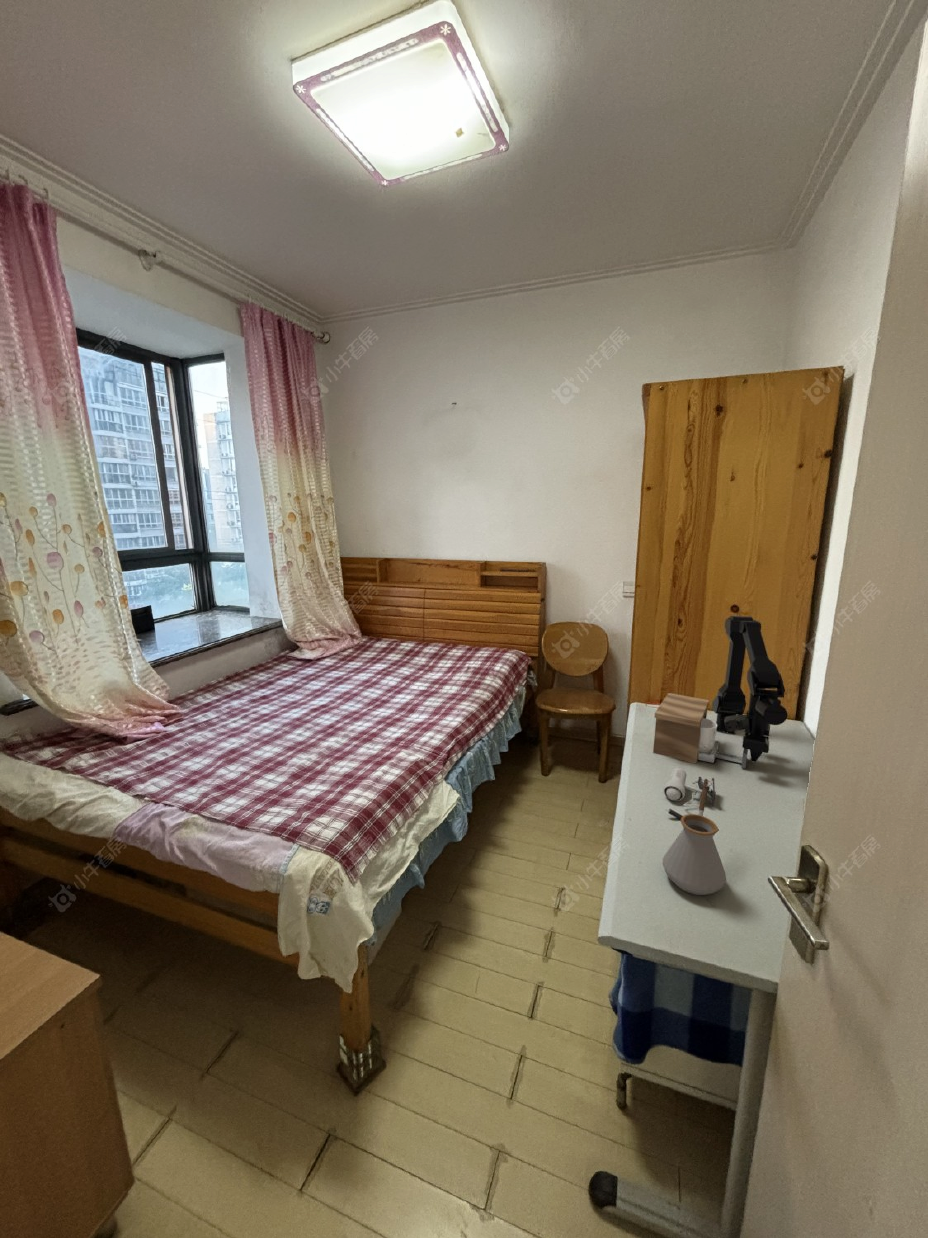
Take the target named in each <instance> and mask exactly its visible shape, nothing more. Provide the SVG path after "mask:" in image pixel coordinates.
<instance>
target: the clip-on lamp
mask: <svg viewBox="0 0 928 1238" xmlns="http://www.w3.org/2000/svg"><path fill="white" fill-rule="evenodd" d="M686 780H687V773H686V770H684V769H683V768H681V767H676V768H674V769H673V770H672V772H671V775H670V778H669V780H668V781H666V782H665V784H664V785H663V794H664V796H665V797H666V798H667V799H668V800H671V801H675V802H679V801H681V800H683V799H684V797H685V796H686V790H690V791H693V792H692V797H691V799H690V801H687V802H685V803H684V804H683V805H682V806H684V807H698V808H699V804H695V803H691V802H693V801H694V799H695V797H694V796H696V795H697V793H699V794H701V792H702V790H703V789H702V786H703V784H701V783H703V782H704V781H701V780H704V778H702V776H699V777H698V780H695V781H692V785H695V786H692V785H689V784H686ZM700 781H701V782H700ZM710 782H711V783H712V785H711V783H710ZM710 782H708V785H711V786H707V787H708V790H707V796H709V797H710V805H711V806H710V807H714V804H715V800H716V795H717V793H716V792H717V791H716V790H715V788H716V787H715V777H712V778H711V781H710ZM665 811H666V812H667V813H668V814H670V815H671V816H673V817H674V818H676V819H678V820H679V821H681V818H682V817H683V816H684V815H682V814H680V813H678V812H677V811H675V810H673V809H672V808H669V809H668V808H665ZM696 815H699V812H698V813H696Z"/></svg>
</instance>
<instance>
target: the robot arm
mask: <svg viewBox="0 0 928 1238" xmlns="http://www.w3.org/2000/svg"><path fill="white" fill-rule="evenodd" d="M724 629H725V634H726V637H727V639H728V640H729V648H728V654H727V664H726V671H725V679H724V683H723V684H722V685H721V686H720V687H719V688H718V691H717V695H716V696H715V697H714V699H713V701H712V702H711V709H712V710H713V712H714V713H715V714H716V720H715V723H716V724H717V730H716V732H723V733H726V734H731V735H736V731H743V730H744V731H743V732H744V736H743V738H742V746H741V747H742V748H743V750H744V749H748V751H749V754H750V761H751V762H752V763H757V762H758V760H759V759H760V757H762V754H763V753H764V754H768V753H769V751H770V740H769V739H770V737H769V736H770V731H771V726H772V725H773V726H778V725H779V726H780V725H782V724H783V723H785V722H786V720H787V719H788V711H787V709H786V708H785V707H784V706H783V705H782V701H781V700H780V699H779V698H782V699H783V698H785V693H786V689H785V685H784V680H783V677H782V674H781V673H780V671H779V669H778V666H777V665H776V664H775V663H774V662H773V661H772V660H771V659H770V657H769V654H768V651H767V648H766V645H765V641H764V638H763V635H762V624H761V622H760V620H755V619H754V618H753V617H752V616H746V615H745V616H743V615H742V616H741V615H730V616H729V617H728V618H726V619H725V621H724ZM746 652H747V656H748V661H749V668H748V669H747V675H746V680H747V684H748V688H749V691H750V692H749V699H748V710H746V706H747V702H746V694H745V693H744V691H743V689H742V688H741V687H742V686H741V685H742V679H743V670H744V664H745V658H746V657H745V655H746ZM775 689H776V690H775ZM745 710H746V714H744V713H745Z"/></svg>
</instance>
